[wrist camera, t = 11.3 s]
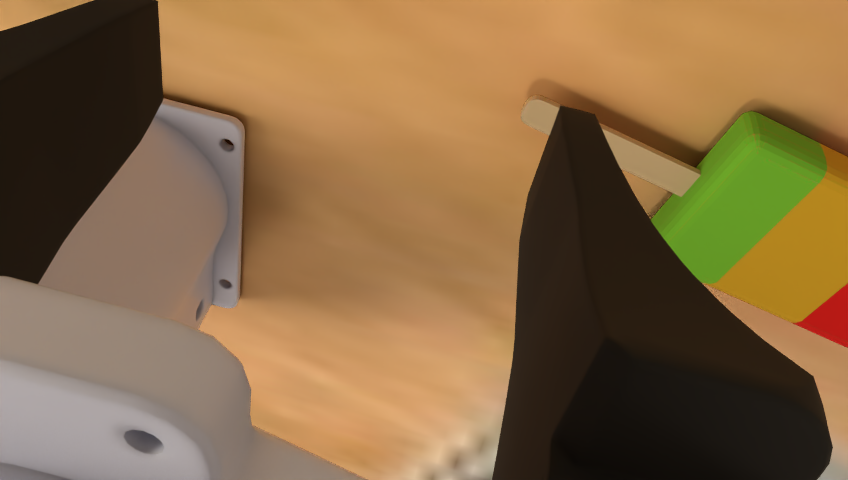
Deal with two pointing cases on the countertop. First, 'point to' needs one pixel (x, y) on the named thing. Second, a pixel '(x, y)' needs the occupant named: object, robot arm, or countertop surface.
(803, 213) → the popsicle
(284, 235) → the countertop surface
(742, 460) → the robot arm
